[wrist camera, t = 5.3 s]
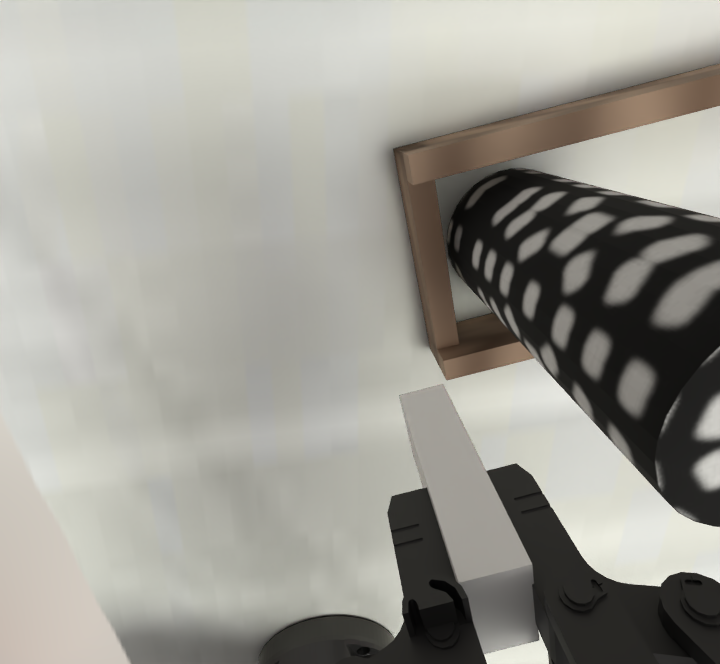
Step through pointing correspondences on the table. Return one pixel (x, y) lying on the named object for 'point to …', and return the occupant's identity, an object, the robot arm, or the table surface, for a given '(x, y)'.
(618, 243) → the spotted tube
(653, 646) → the robot arm
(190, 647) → the table surface
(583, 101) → the walnut rest
